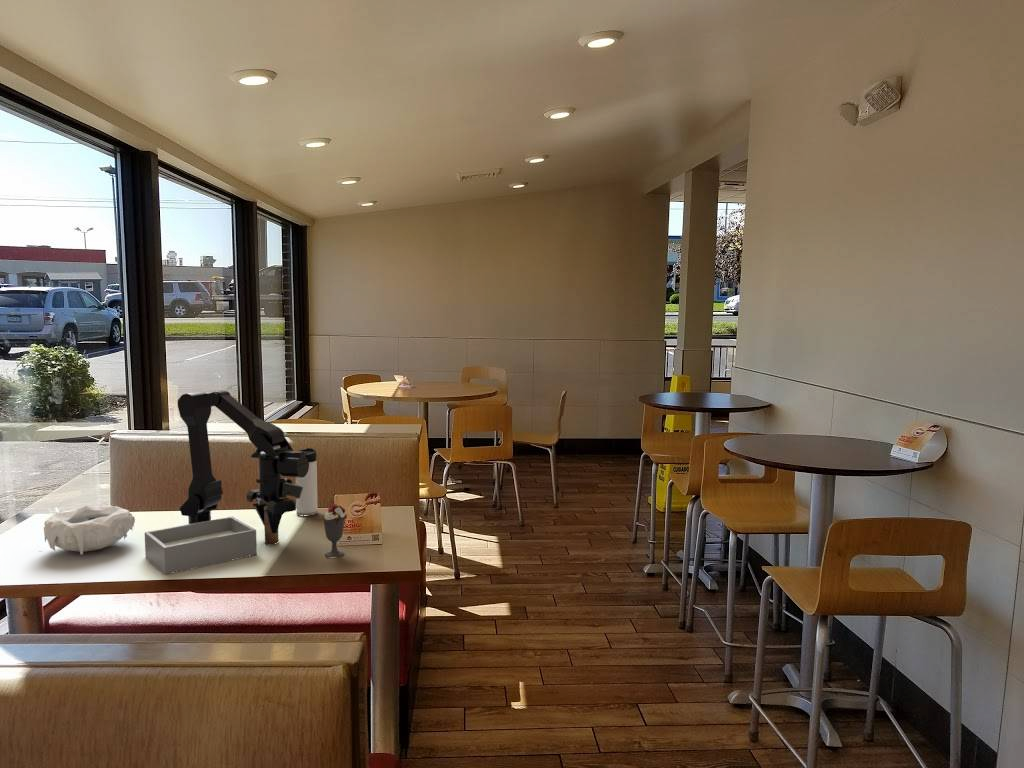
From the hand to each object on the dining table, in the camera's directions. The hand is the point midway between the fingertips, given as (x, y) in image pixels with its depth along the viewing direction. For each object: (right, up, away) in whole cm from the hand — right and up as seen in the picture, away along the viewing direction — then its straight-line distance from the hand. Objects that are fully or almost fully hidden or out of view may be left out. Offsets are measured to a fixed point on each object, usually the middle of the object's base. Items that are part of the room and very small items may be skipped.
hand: (271, 531), depth 193 cm
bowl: (-45, -4, -6) cm, 46 cm away
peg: (0, -3, 0) cm, 3 cm away
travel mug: (+2, -1, +28) cm, 28 cm away
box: (-14, -4, -11) cm, 18 cm away
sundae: (+19, -4, -9) cm, 22 cm away
